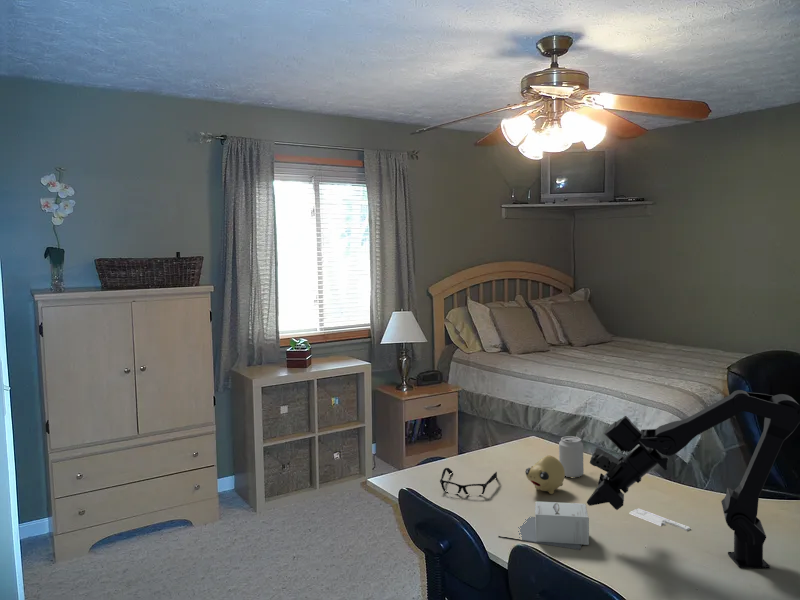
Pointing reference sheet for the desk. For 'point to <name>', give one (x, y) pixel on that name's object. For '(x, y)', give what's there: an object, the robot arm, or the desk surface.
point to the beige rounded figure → (546, 474)
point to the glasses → (466, 485)
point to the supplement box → (562, 523)
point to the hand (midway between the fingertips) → (588, 503)
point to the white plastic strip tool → (655, 518)
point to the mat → (530, 535)
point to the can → (571, 456)
